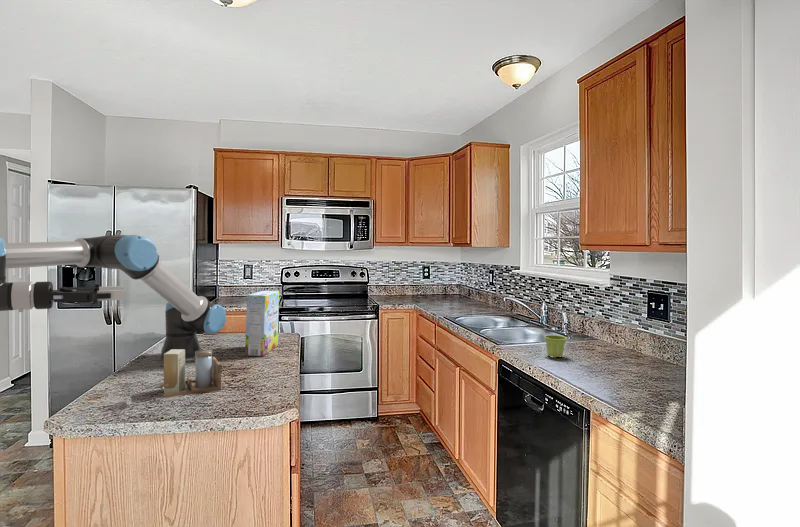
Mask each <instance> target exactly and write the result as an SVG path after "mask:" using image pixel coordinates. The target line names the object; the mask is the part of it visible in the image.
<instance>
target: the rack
mask: <svg viewBox="0 0 800 527" xmlns="http://www.w3.org/2000/svg"><path fill="white" fill-rule="evenodd" d="M186 379H187V380H185V387H184V388H183V389H182V390H181V391H180V392H174V393H164V392H163V398H170V397H178V396H183V395H184V396H185V395H190V394H198V393H199V394H200V393H205V392H206V393H207V392H212V391H213V392H214V391H220V390H222V364H221V363H220V361H219V360H218V359H217V358H216V357H215V356H212V386H211V387H208V388H196V387H195V379H191V376H190V375H187V378H186ZM160 388H162V389H163V391H164V383H160Z"/></svg>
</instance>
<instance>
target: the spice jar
mask: <svg viewBox="0 0 800 527" xmlns="http://www.w3.org/2000/svg"><path fill="white" fill-rule="evenodd" d="M212 357H213V349H201V350H198V351H195V357H194V358H195V363H194V364H195V365H194V366H195V369H194V370H195V377H194V378H195V379H194V380H195V387H196V388H208V387H211V386H212Z"/></svg>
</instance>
